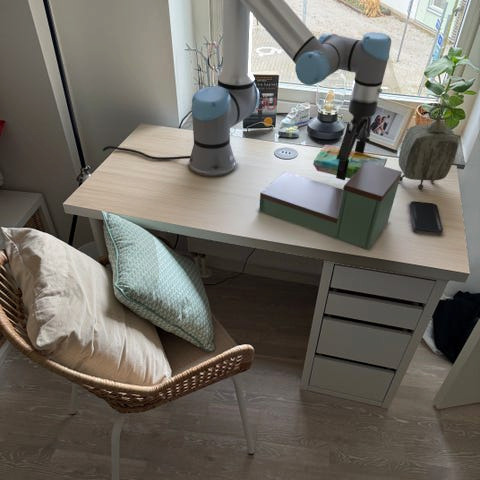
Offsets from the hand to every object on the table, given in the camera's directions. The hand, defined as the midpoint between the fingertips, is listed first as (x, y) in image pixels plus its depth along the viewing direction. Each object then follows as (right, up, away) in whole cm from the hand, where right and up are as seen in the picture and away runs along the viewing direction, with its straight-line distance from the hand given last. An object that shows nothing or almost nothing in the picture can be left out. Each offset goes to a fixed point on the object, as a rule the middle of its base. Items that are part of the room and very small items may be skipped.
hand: (348, 170), depth 144 cm
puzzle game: (0, 0, 0) cm, 1 cm away
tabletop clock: (+23, -4, +5) cm, 24 cm away
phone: (+20, -17, -9) cm, 28 cm away
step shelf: (-10, -17, -9) cm, 21 cm away
